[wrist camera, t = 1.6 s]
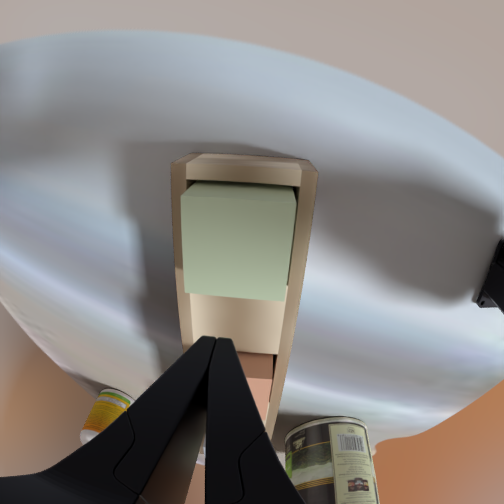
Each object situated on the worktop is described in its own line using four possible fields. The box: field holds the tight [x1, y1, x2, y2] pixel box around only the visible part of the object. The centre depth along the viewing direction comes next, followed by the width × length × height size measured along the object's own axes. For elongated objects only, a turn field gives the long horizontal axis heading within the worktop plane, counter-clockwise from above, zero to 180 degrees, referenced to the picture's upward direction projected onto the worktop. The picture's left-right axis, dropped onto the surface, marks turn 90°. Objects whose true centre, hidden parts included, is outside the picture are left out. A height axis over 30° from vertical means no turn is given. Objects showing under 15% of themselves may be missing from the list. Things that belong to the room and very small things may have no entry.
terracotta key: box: [237, 351, 273, 420], centre depth 20 cm, size 5×5×4 cm
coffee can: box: [285, 417, 379, 504], centre depth 24 cm, size 10×10×14 cm
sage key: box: [181, 180, 296, 302], centre depth 16 cm, size 5×5×4 cm
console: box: [171, 153, 318, 454], centre depth 22 cm, size 7×29×4 cm, turn 177°
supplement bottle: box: [80, 389, 135, 445], centre depth 26 cm, size 5×5×10 cm
